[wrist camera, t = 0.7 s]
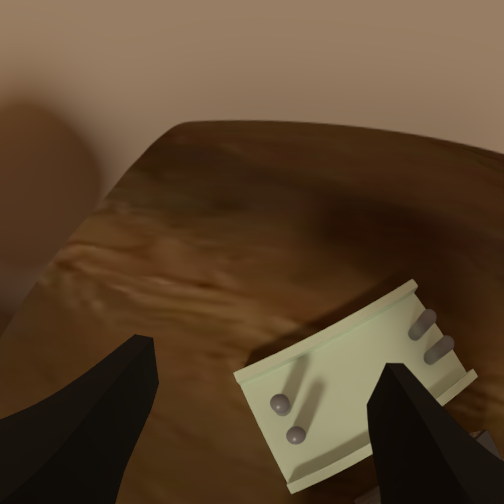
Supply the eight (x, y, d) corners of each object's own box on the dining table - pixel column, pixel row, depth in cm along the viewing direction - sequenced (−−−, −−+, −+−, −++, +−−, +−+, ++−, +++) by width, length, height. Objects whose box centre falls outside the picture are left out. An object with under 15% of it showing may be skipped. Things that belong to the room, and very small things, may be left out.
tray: (465, 382, 20) (492, 368, 16) (292, 489, 18) (290, 499, 15) (405, 291, 26) (420, 263, 22) (238, 378, 24) (226, 365, 20)
